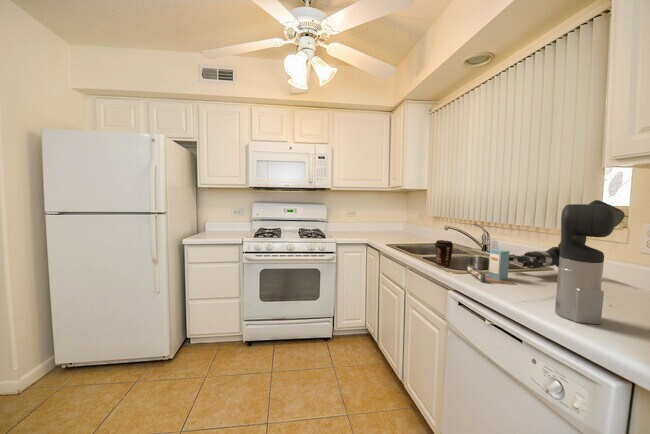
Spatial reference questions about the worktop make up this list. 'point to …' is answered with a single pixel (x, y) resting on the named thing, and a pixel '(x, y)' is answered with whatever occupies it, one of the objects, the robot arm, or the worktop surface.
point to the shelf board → (485, 276)
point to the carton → (498, 264)
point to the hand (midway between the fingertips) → (513, 261)
